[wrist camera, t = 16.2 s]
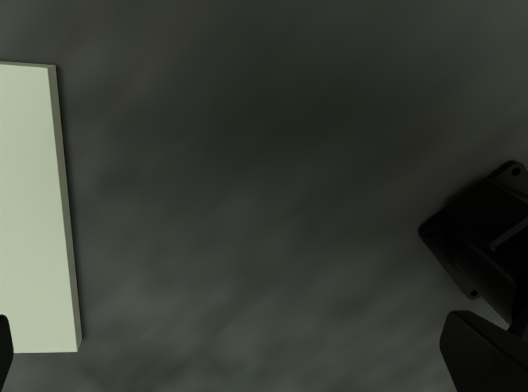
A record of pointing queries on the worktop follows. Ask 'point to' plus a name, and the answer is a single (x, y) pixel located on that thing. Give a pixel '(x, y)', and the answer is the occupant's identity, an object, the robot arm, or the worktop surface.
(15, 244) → the seat plate
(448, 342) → the robot arm
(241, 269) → the worktop surface
